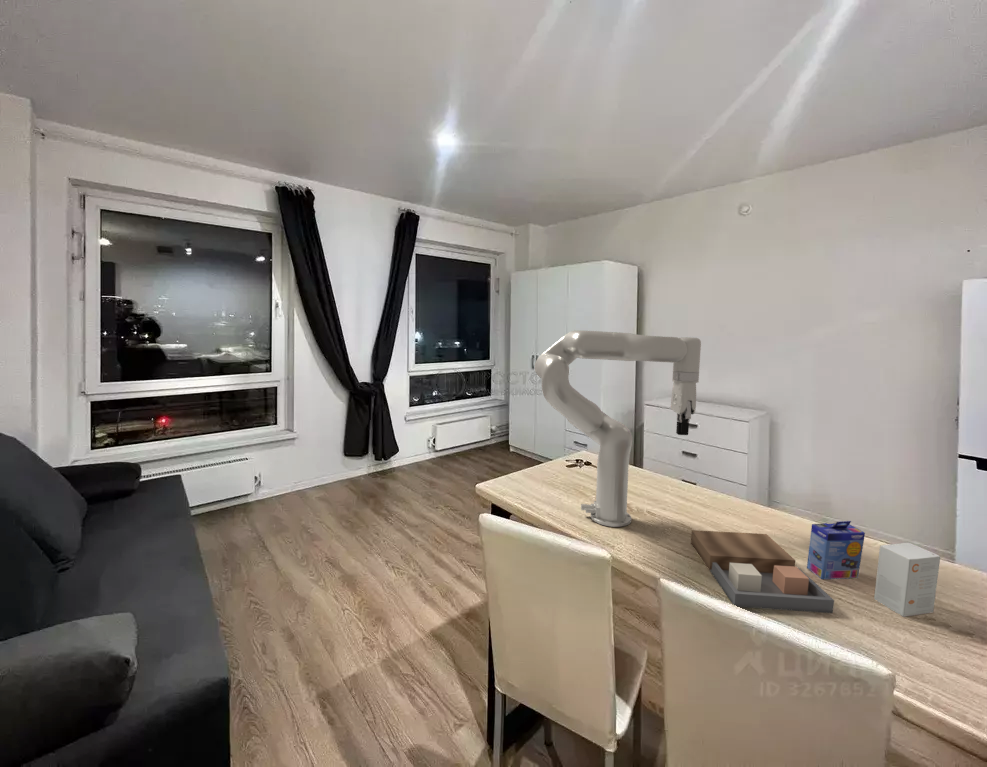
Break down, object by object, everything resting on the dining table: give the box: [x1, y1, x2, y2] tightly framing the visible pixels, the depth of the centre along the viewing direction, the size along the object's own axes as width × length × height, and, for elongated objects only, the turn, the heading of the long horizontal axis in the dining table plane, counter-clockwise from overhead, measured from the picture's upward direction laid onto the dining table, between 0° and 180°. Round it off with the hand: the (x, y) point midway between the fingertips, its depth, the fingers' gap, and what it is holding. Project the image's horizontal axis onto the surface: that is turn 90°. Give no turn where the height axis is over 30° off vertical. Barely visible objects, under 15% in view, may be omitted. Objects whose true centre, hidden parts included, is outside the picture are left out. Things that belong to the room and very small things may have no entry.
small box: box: [873, 542, 941, 618], centre depth 95 cm, size 8×6×13 cm
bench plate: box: [690, 529, 797, 573], centre depth 115 cm, size 20×14×4 cm
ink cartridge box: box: [806, 520, 866, 581], centre depth 108 cm, size 10×6×14 cm, turn 95°
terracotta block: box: [772, 565, 809, 595], centre depth 101 cm, size 5×5×4 cm
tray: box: [709, 562, 835, 614], centre depth 101 cm, size 20×14×3 cm
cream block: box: [728, 563, 762, 592], centre depth 102 cm, size 5×5×4 cm
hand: (682, 434), depth 139 cm, fingers closed
